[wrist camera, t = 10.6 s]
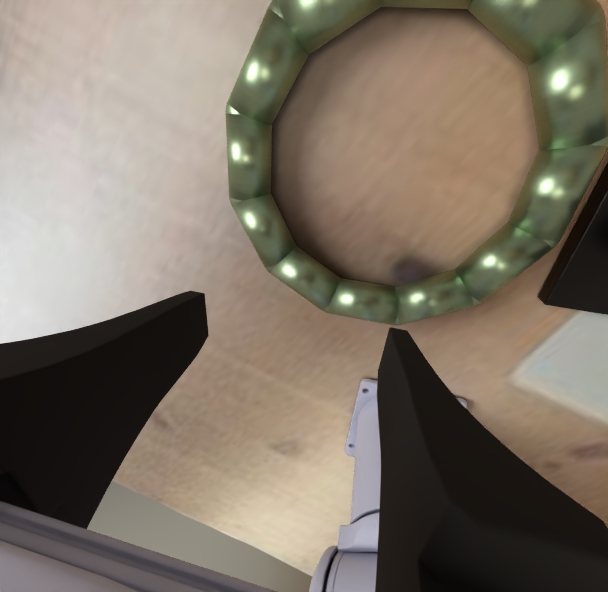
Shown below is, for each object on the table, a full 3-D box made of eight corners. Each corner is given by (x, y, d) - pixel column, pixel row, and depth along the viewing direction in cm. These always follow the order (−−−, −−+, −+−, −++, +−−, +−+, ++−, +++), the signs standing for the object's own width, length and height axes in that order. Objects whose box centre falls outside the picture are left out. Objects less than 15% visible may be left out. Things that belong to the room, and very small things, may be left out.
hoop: (497, 330, 20) (511, 354, 18) (241, 286, 22) (227, 301, 20) (688, -63, 11) (759, -108, 9) (232, -61, 14) (205, -95, 12)
